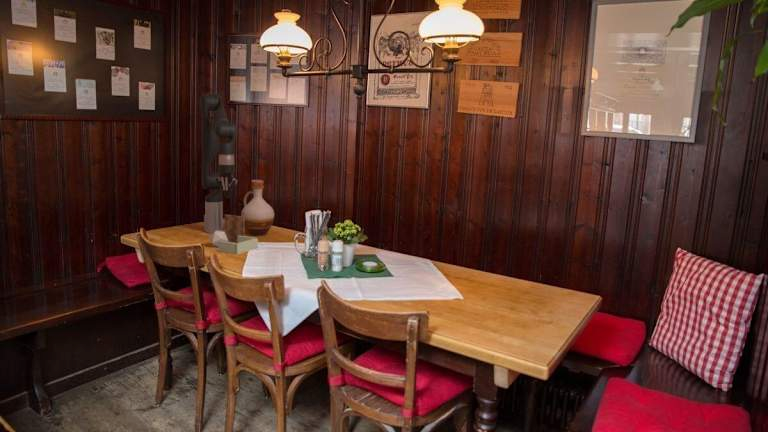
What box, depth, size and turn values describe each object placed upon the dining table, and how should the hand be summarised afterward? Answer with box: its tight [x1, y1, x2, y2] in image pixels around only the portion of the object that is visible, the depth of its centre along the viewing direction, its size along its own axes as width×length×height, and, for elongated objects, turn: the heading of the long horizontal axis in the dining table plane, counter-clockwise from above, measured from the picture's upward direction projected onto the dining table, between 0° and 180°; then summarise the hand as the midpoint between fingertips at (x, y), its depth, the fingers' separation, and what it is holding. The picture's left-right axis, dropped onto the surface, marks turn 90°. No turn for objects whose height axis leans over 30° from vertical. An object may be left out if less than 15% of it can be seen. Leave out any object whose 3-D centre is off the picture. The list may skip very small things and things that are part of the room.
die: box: [208, 230, 228, 248], centre depth 286 cm, size 8×9×10 cm
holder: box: [217, 235, 259, 255], centre depth 281 cm, size 12×15×5 cm
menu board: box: [224, 213, 246, 243], centre depth 295 cm, size 12×5×14 cm, turn 65°
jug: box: [240, 179, 275, 237], centre depth 315 cm, size 20×18×30 cm
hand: (227, 197), depth 290 cm, fingers closed
